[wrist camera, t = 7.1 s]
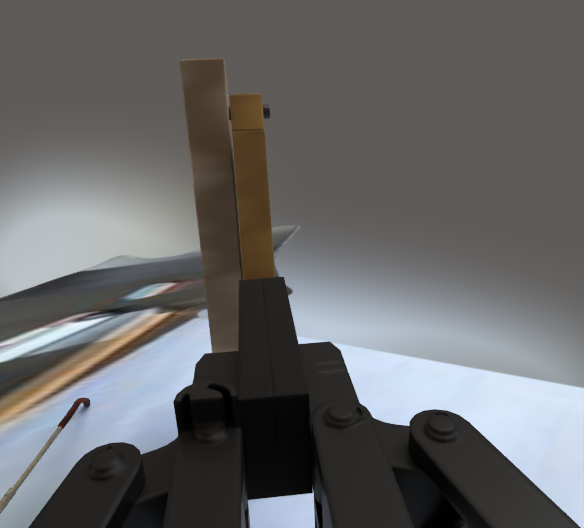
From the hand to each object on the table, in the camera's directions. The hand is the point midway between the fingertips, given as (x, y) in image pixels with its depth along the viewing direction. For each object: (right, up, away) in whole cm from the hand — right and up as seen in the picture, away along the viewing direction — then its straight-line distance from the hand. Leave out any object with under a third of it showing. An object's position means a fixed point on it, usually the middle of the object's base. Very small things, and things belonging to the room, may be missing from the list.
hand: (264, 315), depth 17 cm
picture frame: (-1, -3, +13) cm, 13 cm away
